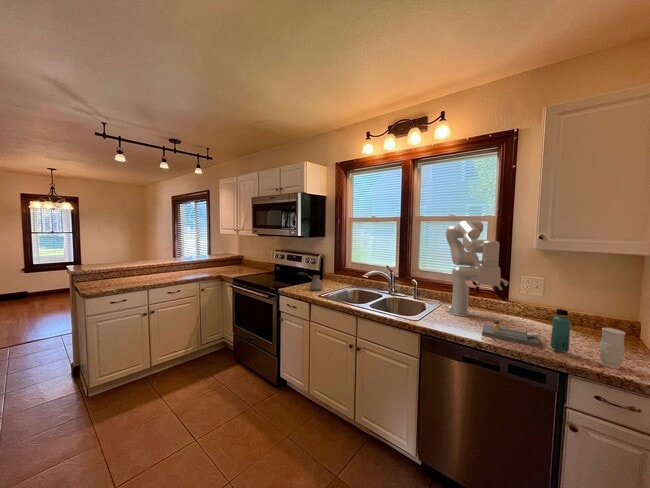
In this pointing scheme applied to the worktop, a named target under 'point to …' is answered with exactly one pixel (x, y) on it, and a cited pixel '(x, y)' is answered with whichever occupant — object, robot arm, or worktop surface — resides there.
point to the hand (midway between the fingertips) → (488, 295)
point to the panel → (511, 335)
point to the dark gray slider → (496, 322)
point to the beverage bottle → (561, 331)
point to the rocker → (532, 334)
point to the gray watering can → (315, 283)
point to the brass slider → (496, 328)
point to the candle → (612, 348)
